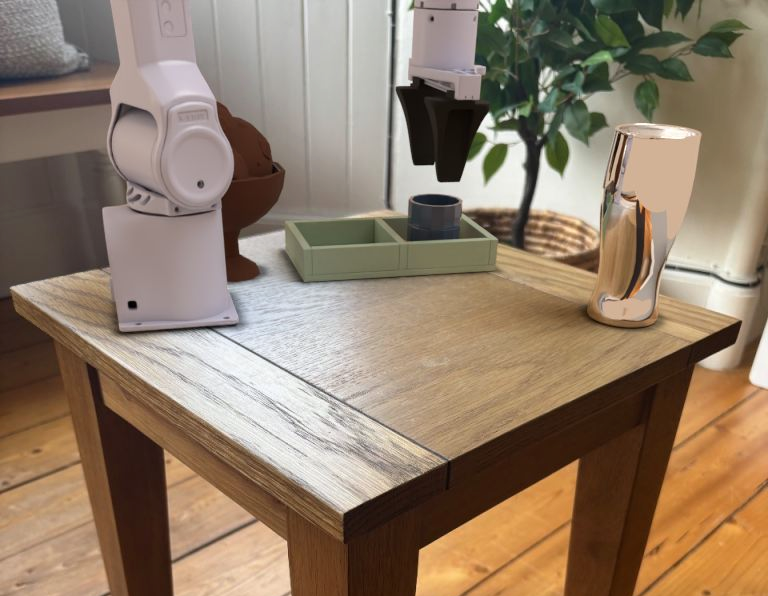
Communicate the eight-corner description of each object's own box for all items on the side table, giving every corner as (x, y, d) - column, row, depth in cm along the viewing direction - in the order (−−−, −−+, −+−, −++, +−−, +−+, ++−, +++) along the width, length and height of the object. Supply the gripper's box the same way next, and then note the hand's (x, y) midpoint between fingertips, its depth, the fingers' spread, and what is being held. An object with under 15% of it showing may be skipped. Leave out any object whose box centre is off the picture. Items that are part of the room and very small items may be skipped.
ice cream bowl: (232, 299, 72) (217, 113, 64) (149, 273, 78) (126, 98, 69) (311, 272, 79) (308, 101, 71) (231, 249, 85) (218, 88, 76)
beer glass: (666, 333, 68) (711, 140, 60) (582, 325, 69) (615, 134, 61) (657, 305, 74) (698, 125, 66) (580, 298, 75) (610, 120, 67)
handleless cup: (416, 259, 81) (418, 207, 78) (400, 244, 85) (402, 194, 82) (465, 256, 82) (470, 205, 79) (448, 241, 86) (451, 192, 84)
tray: (304, 282, 77) (303, 249, 75) (285, 251, 85) (284, 220, 83) (495, 270, 81) (498, 239, 80) (460, 242, 89) (462, 213, 88)
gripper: (521, 14, 67) (502, 188, 74) (460, 6, 78) (449, 157, 86) (440, 12, 65) (429, 190, 73) (390, 4, 77) (385, 158, 84)
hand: (435, 173), depth 79 cm, fingers open, 7 cm apart
